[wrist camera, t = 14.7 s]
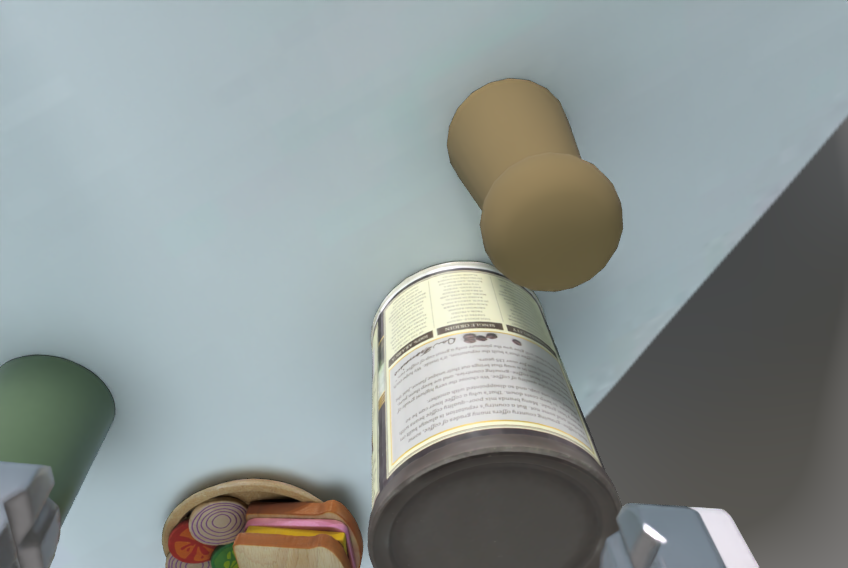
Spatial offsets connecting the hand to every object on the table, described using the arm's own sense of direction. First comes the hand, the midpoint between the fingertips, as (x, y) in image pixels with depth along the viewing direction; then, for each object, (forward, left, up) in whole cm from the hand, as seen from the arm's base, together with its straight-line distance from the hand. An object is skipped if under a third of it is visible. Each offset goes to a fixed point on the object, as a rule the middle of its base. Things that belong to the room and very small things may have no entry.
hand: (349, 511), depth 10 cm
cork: (+2, +7, -25) cm, 26 cm away
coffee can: (+14, +7, -25) cm, 29 cm away
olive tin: (+22, -16, -25) cm, 36 cm away
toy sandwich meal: (+32, -3, -25) cm, 40 cm away
